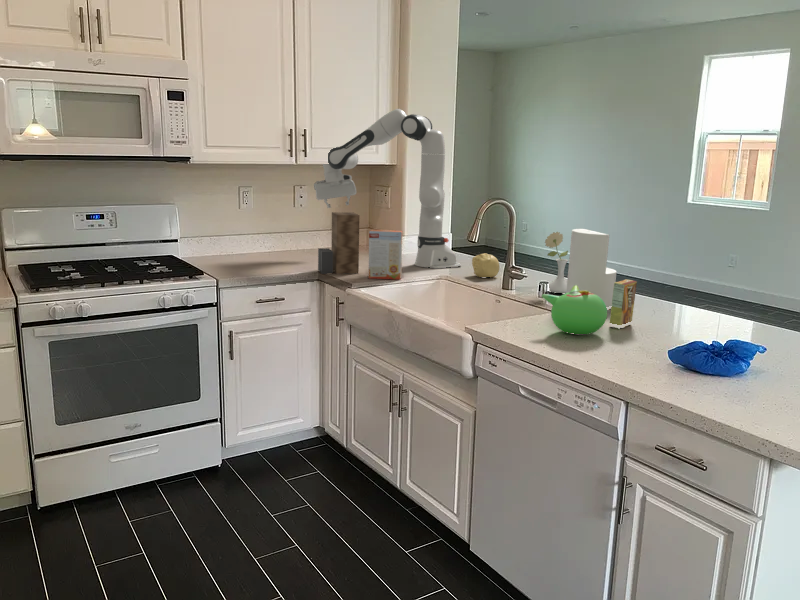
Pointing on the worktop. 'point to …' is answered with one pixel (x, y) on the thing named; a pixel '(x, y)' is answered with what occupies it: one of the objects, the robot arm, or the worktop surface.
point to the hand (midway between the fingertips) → (338, 206)
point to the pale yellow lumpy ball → (485, 265)
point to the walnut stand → (345, 242)
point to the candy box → (623, 302)
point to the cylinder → (590, 264)
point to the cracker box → (385, 254)
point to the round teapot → (577, 311)
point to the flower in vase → (559, 283)
